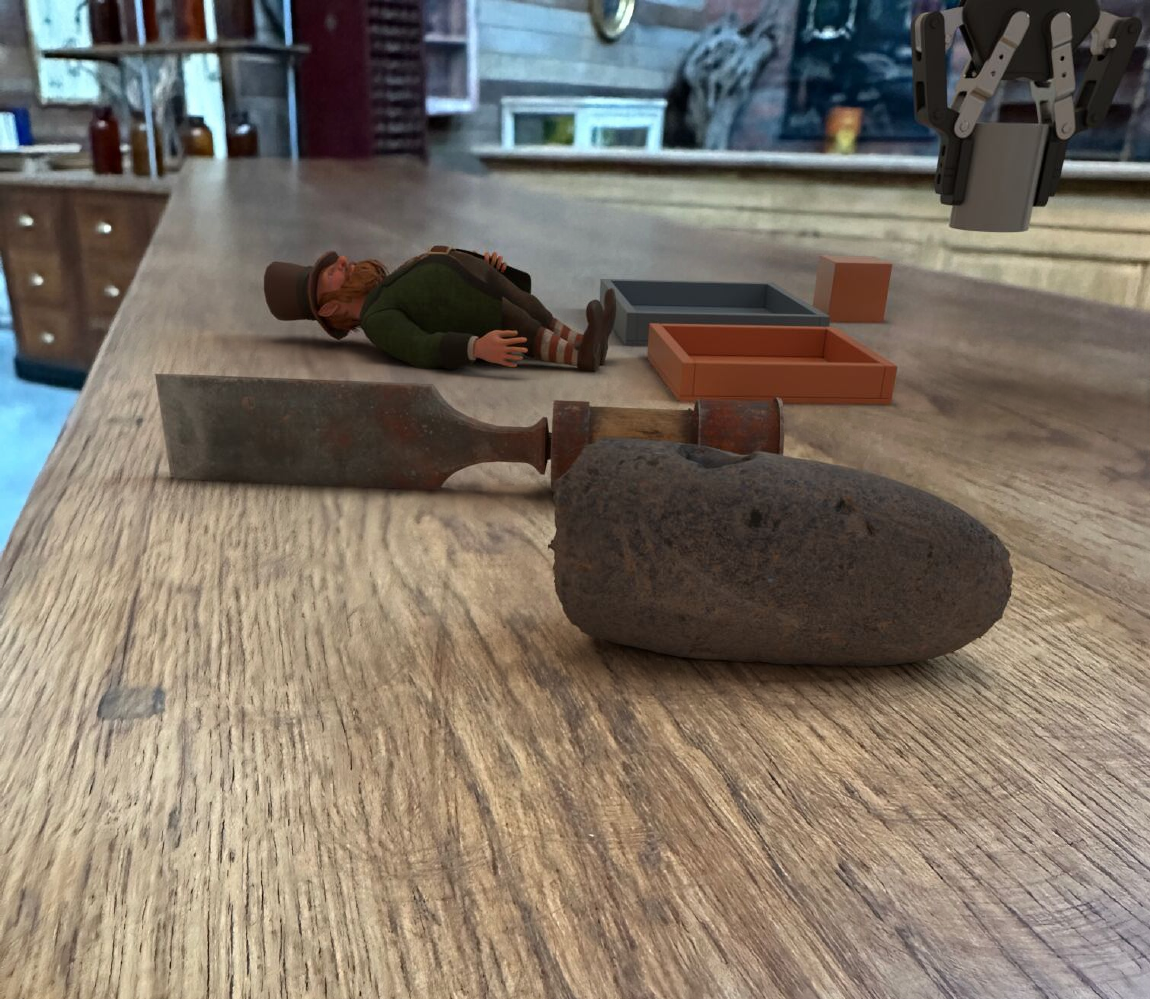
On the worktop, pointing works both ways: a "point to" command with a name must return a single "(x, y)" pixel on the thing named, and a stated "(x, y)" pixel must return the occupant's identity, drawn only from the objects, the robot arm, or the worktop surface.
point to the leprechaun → (438, 309)
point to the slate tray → (704, 305)
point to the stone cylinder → (1001, 177)
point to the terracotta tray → (768, 364)
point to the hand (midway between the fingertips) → (993, 204)
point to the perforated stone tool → (768, 558)
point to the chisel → (408, 431)
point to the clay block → (852, 288)
